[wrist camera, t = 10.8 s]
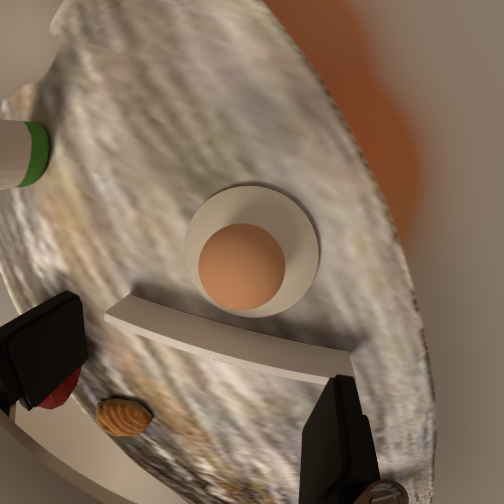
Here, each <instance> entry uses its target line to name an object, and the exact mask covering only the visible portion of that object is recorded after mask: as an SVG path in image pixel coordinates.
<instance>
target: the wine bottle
mask: <svg viewBox="0 0 504 504" xmlns="http://www.w3.org/2000/svg"><path fill="white" fill-rule="evenodd" d="M48 153H49V141H48V136H47V133H46V130H45V129H44V128H43V127H42V126H41V125H39V124H37V123H34V122H24V121H15V120H0V190H4V189H11V188H17V187H25V186H28V185H31V184H33V183H35V182H36V181H37V180H38V179H39V178H40V176H41V175H42V173H43V171H44V169H45V167H46V163H47V160H48Z"/></svg>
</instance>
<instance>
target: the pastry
mask: <svg viewBox="0 0 504 504" xmlns="http://www.w3.org/2000/svg"><path fill="white" fill-rule="evenodd" d="M96 413H97V422H98V423H99V425H100V426H101V428H102V429H103V430H104V431H106V432H108V433H110V434H112V435H113V436H133V435H137V434H139V433H142V432H143V431H144V430H145V429H146V427H147V426H149V425H150V422H151V418H152V415H151V414H150V413H149V412H148V411H147V410H146V409H145V408H144V407H143V406H141V405H140V404H139V403H137V402H136V401H128V400H124V399H121V398H116V399H108V400H105V401H102V402H99V403H97V411H96Z"/></svg>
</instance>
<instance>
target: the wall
mask: <svg viewBox="0 0 504 504" xmlns="http://www.w3.org/2000/svg"><path fill="white" fill-rule="evenodd" d="M104 320H105V321H107V322H109V323H112V324H114V325H116V326H119V327H121V328H124V329H126V330H128V331H131V332H133V333H136V334H139V335H141V336H144V337H146V338H149V339H152V340H155V341H157V342H160V343H163V344H166V345H169V346H172V347H174V348H177V349H180V350H183V351H187V352H190V353H193V354H196V355H199V356H202V357H206V358H209V359H213V360H216V361H219V362H223V363H227V364H230V365H234V366H238V367H242V368H246V369H250V370H254V371H258V372H262V373H267V374H271V375H276V376H280V377H285V378H290V379H295V380H300V381H306V382H311V383H317V384H323V385H326V384H327V382H328V380H329V378H330V377H332V378H334V377H335V376H336V375H337V374H340V375H347V376H353V377H354V379H355V375H354V371H353V367H352V363H351V359H350V356H349V352H348V351H342V350H337V349H331V348H326V347H321V346H316V345H311V344H306V343H301V342H296V341H292V340H287V339H283V338H278V337H274V336H270V335H266V334H261V333H257V332H253V331H249V330H245V329H242V328H238V327H234V326H230V325H226V324H223V323H219V322H216V321H212V320H209V319H205V318H202V317H198V316H195V315H192V314H188V313H185V312H182V311H178V310H175V309H172V308H169V307H166V306H163V305H160V304H157V303H154V302H151V301H148V300H145V299H142V298H139V297H136V296H133V295H130V294H128V295H127V296H126V297H124V298H123V299H122V300H120V301H119V302H118V303H116V304H115V305H114V306H112V307H111V308H110V309H108V310H107V311H106V312H104ZM355 383H356V379H355Z"/></svg>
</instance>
